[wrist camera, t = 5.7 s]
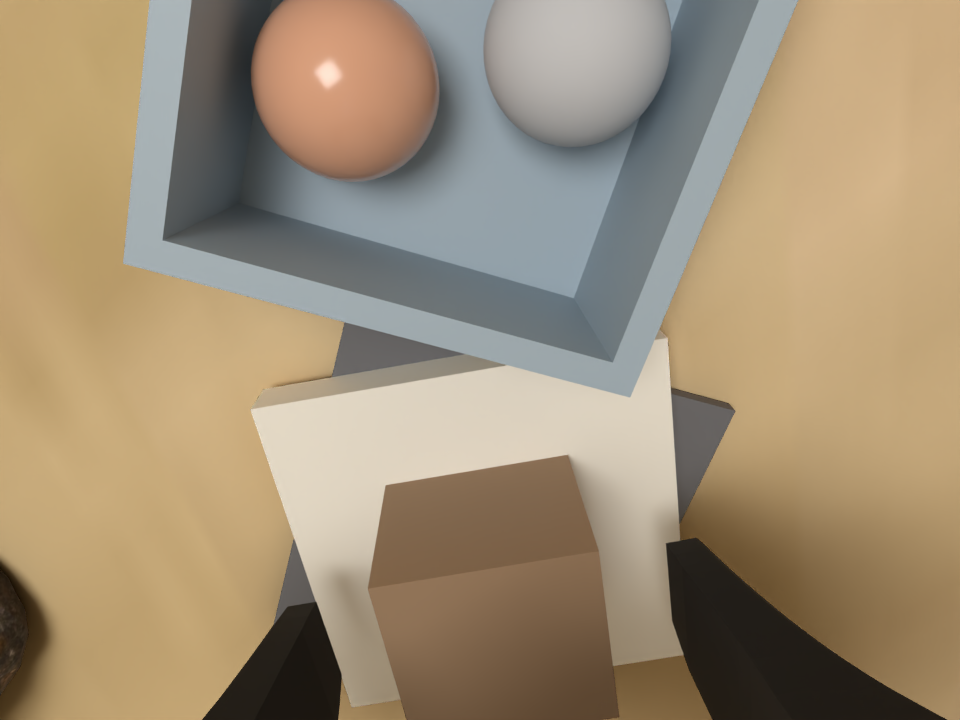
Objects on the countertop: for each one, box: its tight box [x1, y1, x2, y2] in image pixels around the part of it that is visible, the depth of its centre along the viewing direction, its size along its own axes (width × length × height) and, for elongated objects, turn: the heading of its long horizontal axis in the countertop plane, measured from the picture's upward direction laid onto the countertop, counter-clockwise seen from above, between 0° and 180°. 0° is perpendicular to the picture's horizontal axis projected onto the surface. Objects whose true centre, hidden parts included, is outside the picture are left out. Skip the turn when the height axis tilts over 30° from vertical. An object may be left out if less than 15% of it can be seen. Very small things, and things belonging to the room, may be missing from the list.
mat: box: [274, 322, 735, 624], centre depth 16 cm, size 9×9×1 cm
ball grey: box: [483, 0, 672, 147], centre depth 11 cm, size 3×3×3 cm
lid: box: [250, 329, 684, 720], centre depth 14 cm, size 9×9×4 cm
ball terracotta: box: [251, 0, 440, 182], centre depth 11 cm, size 3×3×3 cm
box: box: [123, 0, 798, 397], centre depth 10 cm, size 8×8×4 cm
